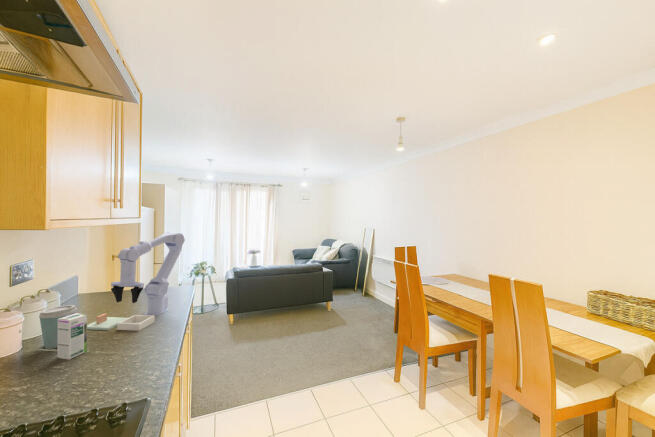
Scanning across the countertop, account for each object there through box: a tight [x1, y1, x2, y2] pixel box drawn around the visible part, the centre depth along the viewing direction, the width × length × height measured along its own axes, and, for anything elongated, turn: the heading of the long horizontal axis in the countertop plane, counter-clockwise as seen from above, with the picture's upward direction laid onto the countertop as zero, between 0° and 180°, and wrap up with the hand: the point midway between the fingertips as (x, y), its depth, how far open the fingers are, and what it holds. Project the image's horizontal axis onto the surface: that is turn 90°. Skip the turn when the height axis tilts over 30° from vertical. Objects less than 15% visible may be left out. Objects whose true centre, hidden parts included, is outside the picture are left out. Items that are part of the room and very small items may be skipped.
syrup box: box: [57, 312, 88, 361], centre depth 96 cm, size 6×6×14 cm
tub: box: [116, 314, 156, 332], centre depth 121 cm, size 10×10×4 cm
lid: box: [87, 312, 128, 331], centre depth 121 cm, size 11×11×5 cm
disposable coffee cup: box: [38, 304, 78, 350], centre depth 102 cm, size 11×11×15 cm
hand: (126, 302), depth 123 cm, fingers open, 7 cm apart
